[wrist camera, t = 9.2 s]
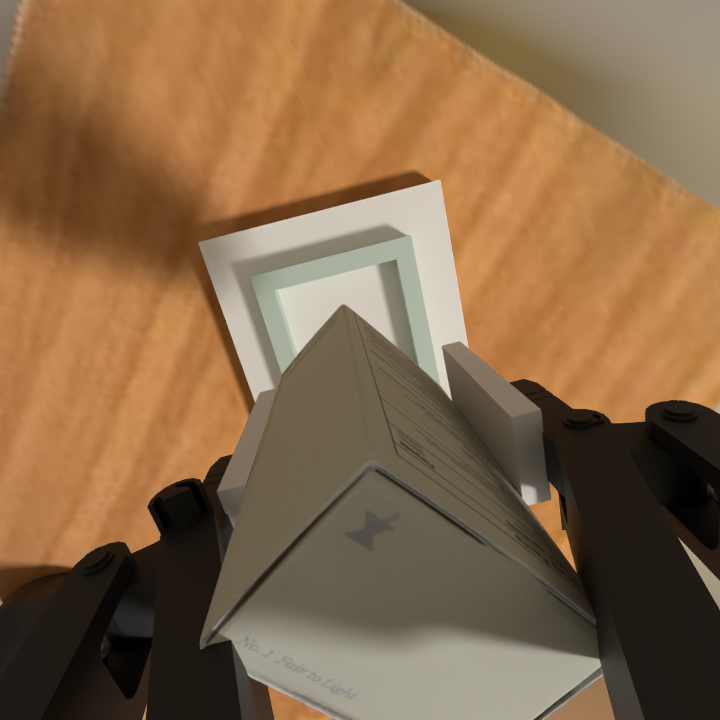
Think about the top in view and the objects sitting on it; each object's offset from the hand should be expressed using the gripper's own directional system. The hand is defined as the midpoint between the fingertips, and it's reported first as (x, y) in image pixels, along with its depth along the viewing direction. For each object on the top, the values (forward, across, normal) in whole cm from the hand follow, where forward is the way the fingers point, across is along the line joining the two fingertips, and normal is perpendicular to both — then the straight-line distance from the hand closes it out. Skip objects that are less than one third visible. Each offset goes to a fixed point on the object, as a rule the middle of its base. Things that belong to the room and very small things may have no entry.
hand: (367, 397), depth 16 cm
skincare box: (+2, 0, 0) cm, 2 cm away
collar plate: (+14, 0, 0) cm, 14 cm away
